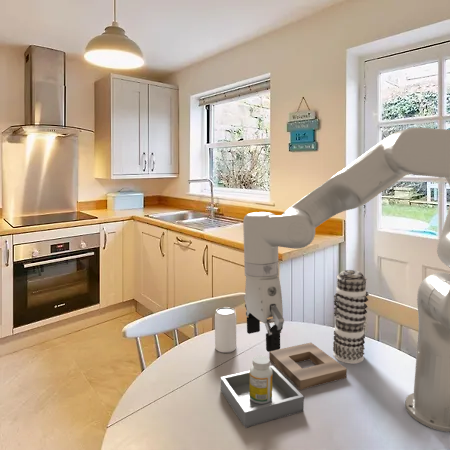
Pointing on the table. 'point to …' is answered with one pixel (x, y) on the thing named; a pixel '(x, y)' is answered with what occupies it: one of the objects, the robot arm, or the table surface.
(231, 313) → the can
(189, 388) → the table surface
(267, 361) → the supplement bottle
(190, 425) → the table surface
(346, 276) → the decorative candle
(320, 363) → the brown wooden square frame
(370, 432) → the table surface
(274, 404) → the tray
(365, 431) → the table surface
